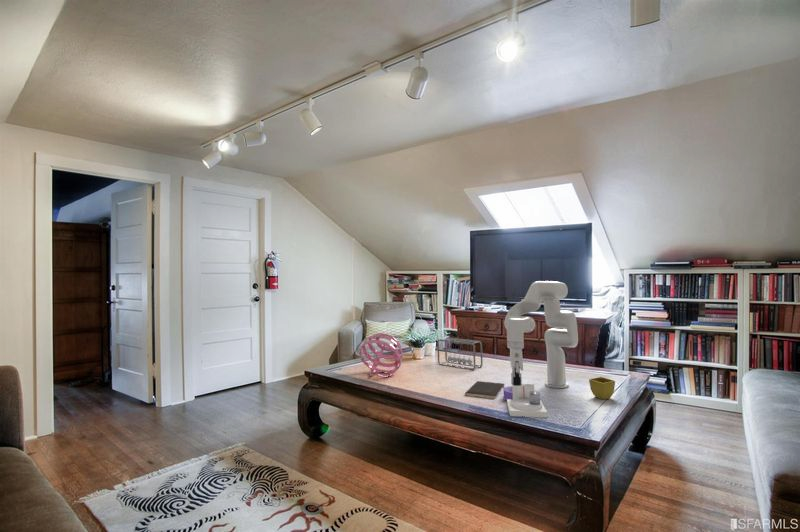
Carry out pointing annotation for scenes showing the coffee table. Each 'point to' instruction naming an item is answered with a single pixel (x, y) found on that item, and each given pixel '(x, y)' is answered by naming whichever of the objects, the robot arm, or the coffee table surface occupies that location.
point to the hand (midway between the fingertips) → (516, 383)
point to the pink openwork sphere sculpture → (380, 354)
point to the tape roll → (508, 393)
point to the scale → (524, 402)
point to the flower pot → (602, 387)
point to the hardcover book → (485, 389)
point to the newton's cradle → (458, 351)
